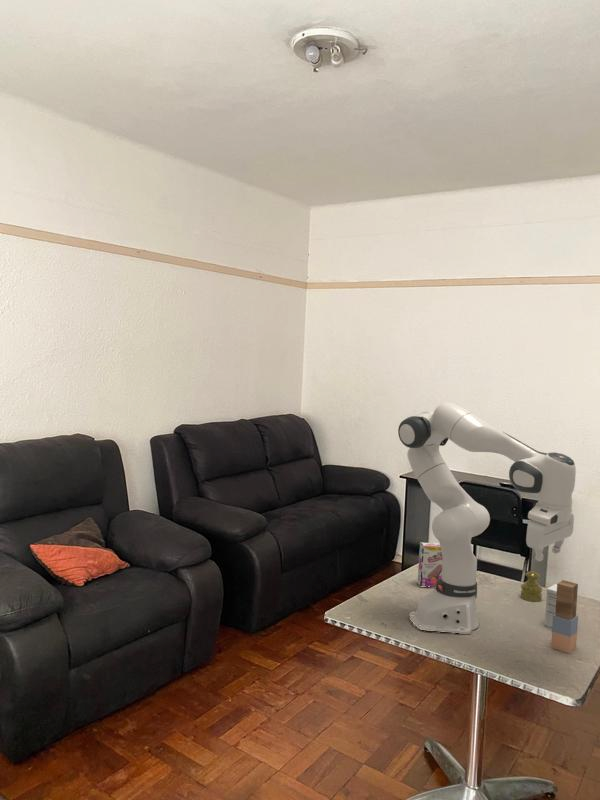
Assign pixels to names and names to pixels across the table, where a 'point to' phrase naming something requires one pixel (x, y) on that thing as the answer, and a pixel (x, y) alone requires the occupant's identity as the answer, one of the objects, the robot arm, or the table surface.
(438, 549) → the candy bar box
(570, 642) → the terracotta block
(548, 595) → the supplement box
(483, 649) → the table surface
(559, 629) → the slate block
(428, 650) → the table surface
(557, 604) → the walnut block
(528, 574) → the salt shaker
